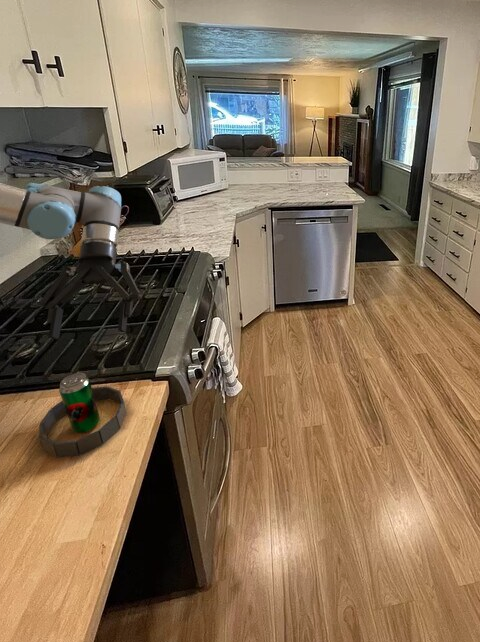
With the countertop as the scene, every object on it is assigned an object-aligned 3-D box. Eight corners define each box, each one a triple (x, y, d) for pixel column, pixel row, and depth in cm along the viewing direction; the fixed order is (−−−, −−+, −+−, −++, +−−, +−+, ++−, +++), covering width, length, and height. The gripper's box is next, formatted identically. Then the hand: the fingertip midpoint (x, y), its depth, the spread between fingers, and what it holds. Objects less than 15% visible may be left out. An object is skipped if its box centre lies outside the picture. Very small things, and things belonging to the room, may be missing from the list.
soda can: (105, 422, 76) (93, 377, 72) (80, 439, 72) (65, 393, 68) (93, 411, 79) (80, 368, 74) (67, 428, 75) (52, 383, 70)
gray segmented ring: (26, 441, 72) (21, 428, 70) (94, 391, 84) (91, 379, 83) (77, 468, 67) (72, 454, 65) (140, 410, 79) (138, 398, 78)
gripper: (158, 248, 92) (153, 331, 84) (50, 255, 88) (34, 343, 79) (149, 236, 86) (144, 325, 77) (31, 243, 81) (12, 338, 73)
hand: (88, 334), depth 78 cm, fingers open, 13 cm apart
